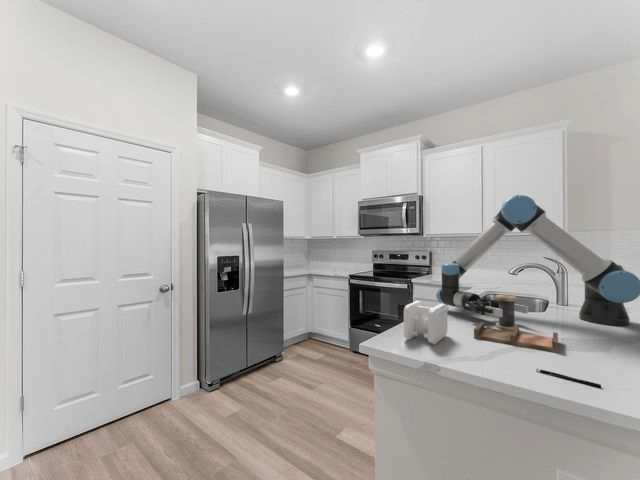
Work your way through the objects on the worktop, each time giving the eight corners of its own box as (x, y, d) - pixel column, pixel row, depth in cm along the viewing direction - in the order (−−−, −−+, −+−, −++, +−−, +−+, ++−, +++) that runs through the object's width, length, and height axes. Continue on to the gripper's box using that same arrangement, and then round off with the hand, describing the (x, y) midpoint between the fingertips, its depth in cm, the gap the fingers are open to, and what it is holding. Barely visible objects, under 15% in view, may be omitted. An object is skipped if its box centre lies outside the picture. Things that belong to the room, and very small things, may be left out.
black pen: (535, 372, 78) (535, 368, 78) (536, 371, 78) (536, 367, 78) (600, 389, 69) (600, 385, 69) (601, 388, 69) (601, 384, 69)
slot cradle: (557, 342, 100) (557, 332, 100) (557, 352, 90) (557, 342, 90) (481, 329, 114) (481, 321, 114) (474, 338, 104) (473, 329, 104)
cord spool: (518, 327, 116) (518, 296, 116) (516, 332, 111) (516, 299, 111) (497, 324, 120) (497, 294, 120) (494, 328, 115) (494, 297, 115)
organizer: (419, 330, 113) (419, 299, 113) (449, 336, 107) (449, 302, 107) (403, 341, 102) (402, 306, 102) (435, 348, 95) (435, 310, 95)
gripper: (488, 307, 137) (537, 318, 117) (445, 312, 128) (490, 325, 108) (488, 290, 137) (537, 298, 117) (445, 294, 128) (490, 304, 108)
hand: (515, 311), depth 112 cm, fingers open, 13 cm apart
